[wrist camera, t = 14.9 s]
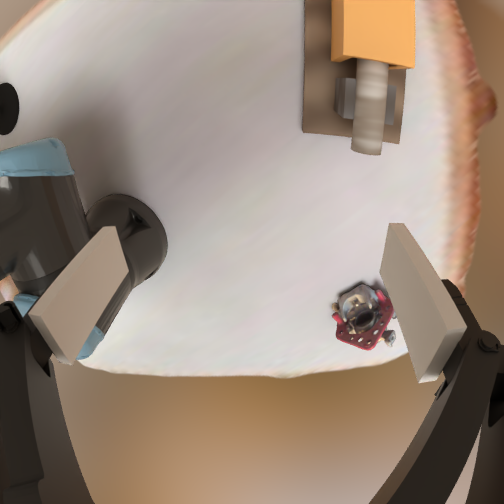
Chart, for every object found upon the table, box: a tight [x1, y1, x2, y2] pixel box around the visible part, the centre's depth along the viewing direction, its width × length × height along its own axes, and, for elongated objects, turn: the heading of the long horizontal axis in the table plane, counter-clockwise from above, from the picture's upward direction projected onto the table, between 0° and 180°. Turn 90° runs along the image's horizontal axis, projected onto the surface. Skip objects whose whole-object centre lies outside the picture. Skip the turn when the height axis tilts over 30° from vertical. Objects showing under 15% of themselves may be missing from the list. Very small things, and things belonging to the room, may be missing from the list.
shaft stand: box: [302, 0, 406, 155], centre depth 22 cm, size 30×12×10 cm, turn 0°
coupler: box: [331, 0, 415, 70], centre depth 20 cm, size 12×6×9 cm, turn 0°
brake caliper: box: [332, 284, 397, 350], centre depth 45 cm, size 11×10×11 cm
